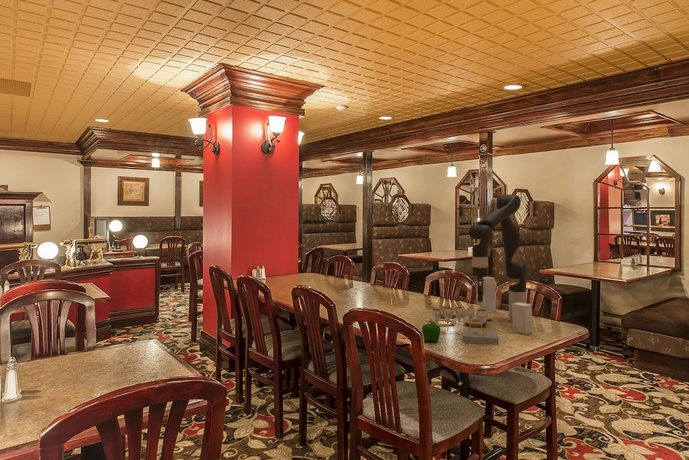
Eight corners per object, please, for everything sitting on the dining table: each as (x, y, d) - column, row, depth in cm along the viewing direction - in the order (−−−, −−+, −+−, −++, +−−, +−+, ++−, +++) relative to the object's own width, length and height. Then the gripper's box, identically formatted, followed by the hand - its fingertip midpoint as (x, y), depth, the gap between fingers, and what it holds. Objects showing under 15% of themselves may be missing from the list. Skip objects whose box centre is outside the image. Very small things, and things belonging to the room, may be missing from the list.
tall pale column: (480, 312, 278) (480, 277, 277) (478, 311, 282) (478, 276, 281) (497, 312, 278) (497, 276, 277) (495, 311, 282) (495, 276, 281)
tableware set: (427, 326, 249) (427, 319, 249) (431, 314, 277) (431, 308, 277) (494, 330, 239) (494, 322, 239) (491, 317, 268) (491, 310, 267)
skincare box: (533, 333, 231) (533, 304, 230) (525, 335, 227) (525, 305, 227) (518, 329, 238) (518, 301, 237) (511, 331, 234) (511, 303, 234)
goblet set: (432, 334, 232) (432, 308, 232) (431, 331, 238) (431, 306, 237) (488, 335, 228) (488, 309, 228) (486, 332, 234) (486, 306, 234)
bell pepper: (419, 339, 222) (419, 319, 222) (434, 338, 225) (434, 318, 224) (427, 344, 214) (427, 323, 214) (443, 342, 216) (442, 322, 216)
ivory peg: (475, 303, 224) (475, 283, 223) (484, 303, 223) (484, 283, 222) (476, 304, 220) (475, 284, 219) (484, 305, 219) (484, 284, 218)
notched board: (463, 335, 228) (463, 329, 228) (496, 337, 224) (496, 331, 223) (463, 342, 216) (463, 336, 216) (498, 344, 212) (498, 338, 212)
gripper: (472, 264, 228) (472, 297, 229) (472, 267, 215) (472, 303, 215) (487, 264, 226) (487, 298, 227) (488, 267, 213) (488, 304, 213)
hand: (480, 300), depth 221 cm, fingers closed on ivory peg, 4 cm apart
